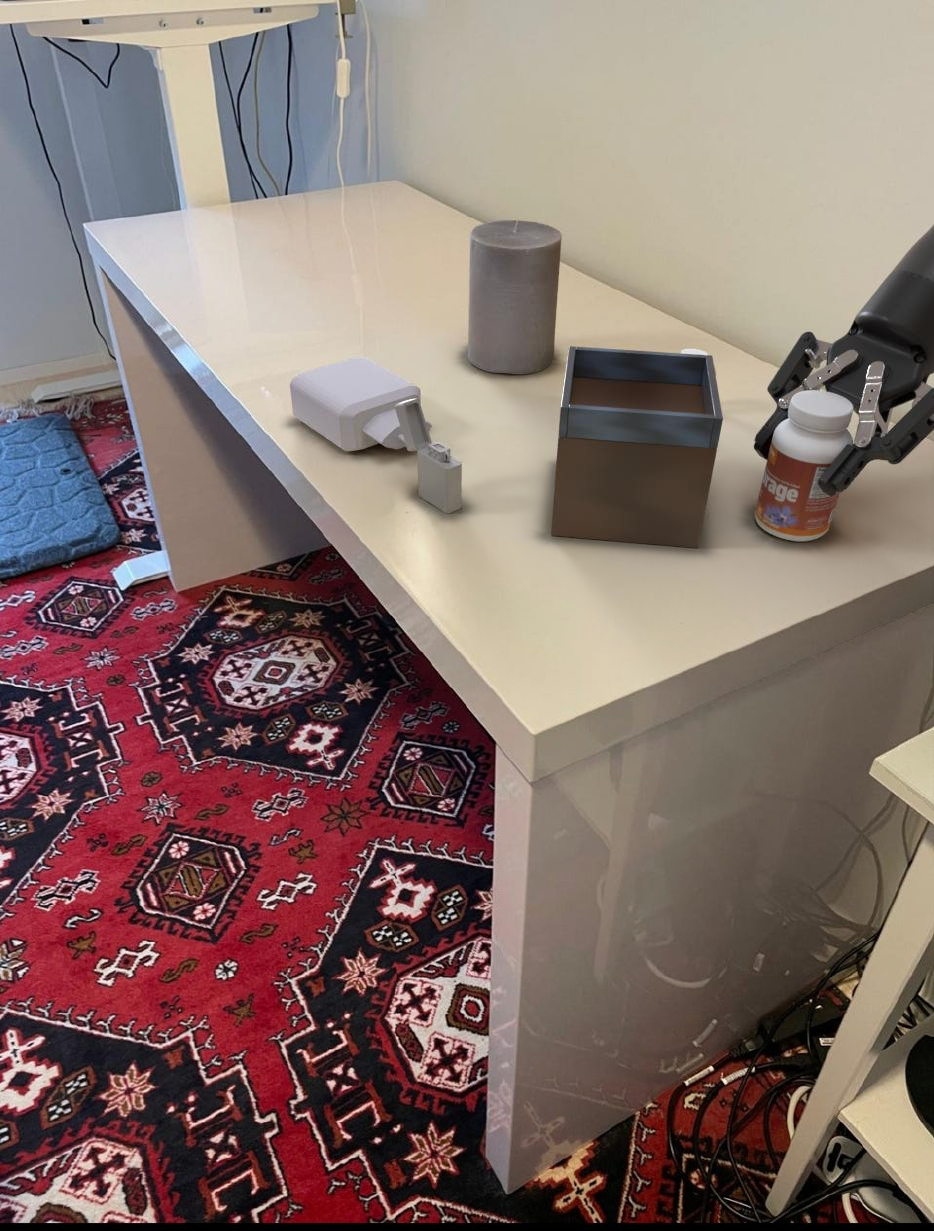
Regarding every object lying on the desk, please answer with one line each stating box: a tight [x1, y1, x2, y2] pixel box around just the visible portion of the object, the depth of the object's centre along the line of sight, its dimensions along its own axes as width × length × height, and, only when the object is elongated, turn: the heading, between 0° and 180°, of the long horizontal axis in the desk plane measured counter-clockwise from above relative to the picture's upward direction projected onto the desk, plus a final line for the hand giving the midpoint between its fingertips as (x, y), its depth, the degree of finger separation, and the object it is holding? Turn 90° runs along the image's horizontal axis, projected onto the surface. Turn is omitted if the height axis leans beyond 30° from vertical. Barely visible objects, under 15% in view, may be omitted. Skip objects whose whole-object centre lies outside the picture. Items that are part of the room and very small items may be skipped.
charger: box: [289, 356, 433, 452], centre depth 91 cm, size 5×9×15 cm
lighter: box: [395, 398, 463, 515], centre depth 81 cm, size 7×2×8 cm, turn 40°
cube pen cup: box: [550, 345, 724, 549], centre depth 79 cm, size 12×12×12 cm
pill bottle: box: [754, 390, 854, 542], centre depth 77 cm, size 6×6×11 cm
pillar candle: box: [467, 219, 563, 375], centre depth 103 cm, size 10×10×15 cm
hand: (791, 471), depth 76 cm, fingers closed on pill bottle, 6 cm apart
